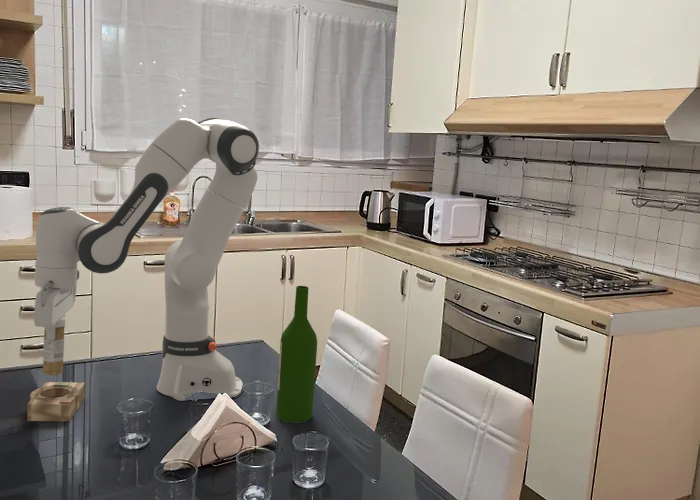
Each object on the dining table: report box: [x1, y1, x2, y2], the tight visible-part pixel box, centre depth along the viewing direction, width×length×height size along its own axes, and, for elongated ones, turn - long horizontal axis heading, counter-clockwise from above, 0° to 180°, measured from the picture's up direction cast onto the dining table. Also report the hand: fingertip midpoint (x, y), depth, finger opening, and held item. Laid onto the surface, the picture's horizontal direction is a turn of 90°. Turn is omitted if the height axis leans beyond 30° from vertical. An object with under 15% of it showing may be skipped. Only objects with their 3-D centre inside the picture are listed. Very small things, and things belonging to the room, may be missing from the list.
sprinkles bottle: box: [42, 316, 66, 376], centre depth 152 cm, size 5×5×14 cm
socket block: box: [26, 381, 86, 422], centre depth 154 cm, size 10×14×4 cm
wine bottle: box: [275, 285, 318, 423], centre depth 158 cm, size 9×9×32 cm
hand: (54, 335), depth 152 cm, fingers closed on sprinkles bottle, 4 cm apart
